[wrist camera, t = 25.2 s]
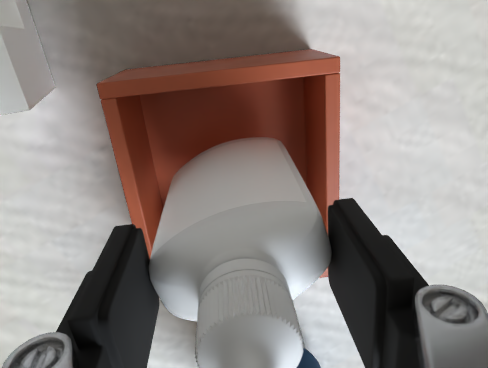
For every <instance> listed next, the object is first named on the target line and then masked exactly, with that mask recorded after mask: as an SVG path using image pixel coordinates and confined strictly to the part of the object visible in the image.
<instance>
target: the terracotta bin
mask: <svg viewBox="0 0 488 368" xmlns="http://www.w3.org/2000/svg"><path fill="white" fill-rule="evenodd" d="M339 72H340V57H339V56H335V55H331V54H327V53H324V52H320V51H316V50H312V49H307V50H298V51H289V52H280V53H271V54H262V55H253V56H244V57H235V58H226V59H216V60H207V61H198V62H189V63H180V64H171V65H162V66H153V67H144V68H135V69H126V70H124V71H121V72H119V73H117V74H115V75H113V76H111V77H109V78H107V79H105V80H103V81H101V82H99V83H97V88H98V92H99V96H100V99H102V100H101V104H102V108H103V112H104V115H105V119H106V123H107V127H108V131H109V135H110V139H111V143H112V147H113V151H114V155H115V159H116V163H117V167H118V171H119V174H120V178H121V182H122V186H123V190H124V194H125V198H126V202H127V206H128V210H129V214H130V218H131V222H132V224H134V225H135V226H136V228H141V229H142V230H143V234H144V238H145V242H146V246H147V250H148V254H149V259H150V257H151V253H152V248H153V244H154V241H155V237H156V233H157V230H158V226H159V222H160V219H161V215H162V212H163V208H164V205H165V201H166V198H167V194H168V191H169V187H170V184H171V181H172V179H173V177H174V175H175V174H176V173H177V172H178V170H179V169H180V168H181V167H183V166H184V165H185V164H186V163H187V162H189V161H190V160H191V159H193V158H194V157H196V156H197V155H199V154H200V153H202V152H204V151H206V150H207V149H209V148H212V147H214V146H216V145H219V144H222V143H225V142H228V141H232V140H237V139H243V138H253V137H267V138H274V139H277V140H279V141H281V142H282V144H283V145H284V146H285V148H286V150H287V151H288V153H289V155H290V157H291V159H292V160H293V162H294V164H295V166H296V168H297V169H298V171H299V173H300V175H301V177H302V179H303V181H304V182H305V184H306V186H307V188H308V190H309V192H310V193H311V195H312V197H313V199H314V201H315V203H316V205H317V207H318V209H319V211H320V214H321V216H322V219H323V222H324V225H325V228H326V231H327V234H328V206H329V205H333V203H334V200H339V138H340V73H339ZM321 277H328V267H327V269H326V270H325V272H324V273H323V274H322V275H321V276H320V277H319V278H321Z"/></svg>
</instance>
